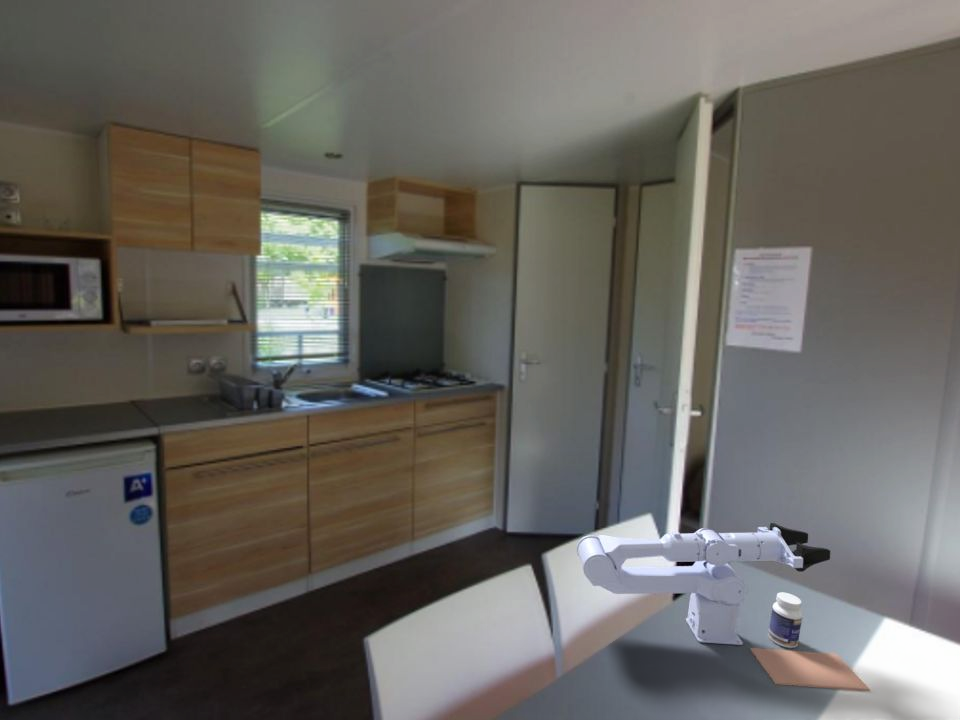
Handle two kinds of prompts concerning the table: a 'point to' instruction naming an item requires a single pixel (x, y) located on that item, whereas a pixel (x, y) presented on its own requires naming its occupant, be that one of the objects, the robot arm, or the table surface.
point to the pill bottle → (786, 620)
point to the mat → (808, 669)
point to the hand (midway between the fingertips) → (817, 545)
